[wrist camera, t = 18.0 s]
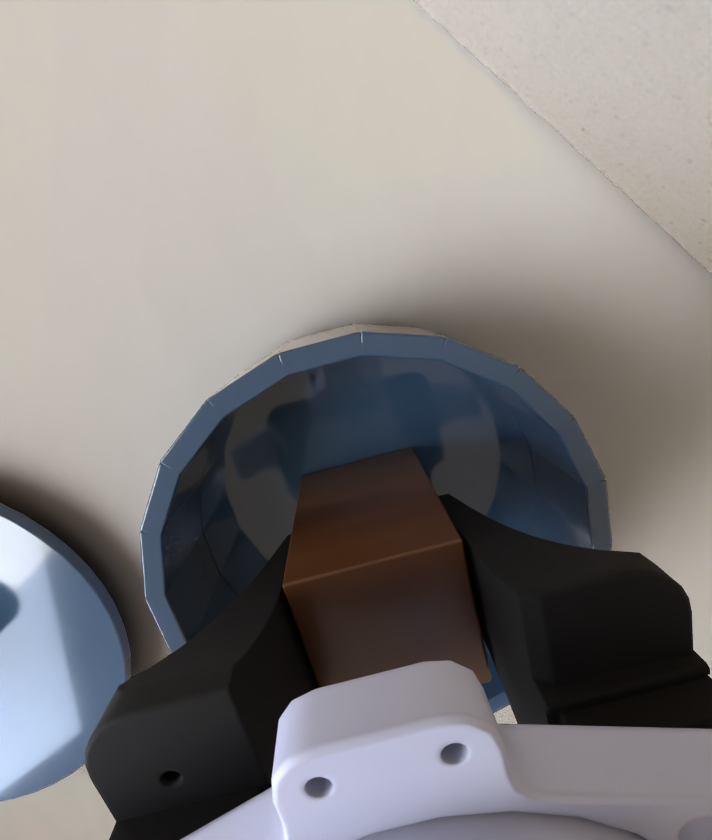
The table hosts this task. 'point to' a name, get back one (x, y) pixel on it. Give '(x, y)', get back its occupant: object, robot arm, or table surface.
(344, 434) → the pot
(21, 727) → the lid
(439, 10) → the box
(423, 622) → the block
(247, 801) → the robot arm
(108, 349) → the table surface
